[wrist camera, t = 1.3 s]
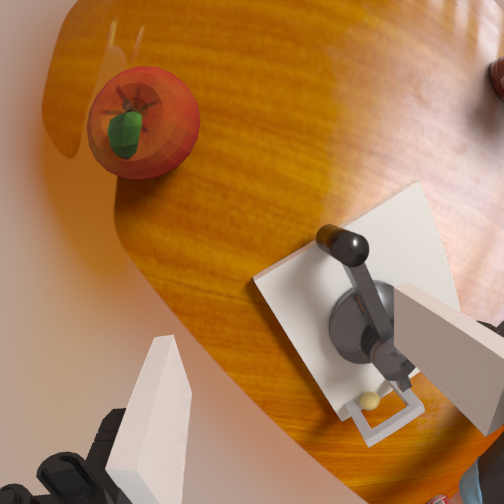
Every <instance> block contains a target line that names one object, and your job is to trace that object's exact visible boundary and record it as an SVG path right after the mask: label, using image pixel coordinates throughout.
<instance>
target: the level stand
mask: <svg viewBox="0 0 504 504" xmlns="http://www.w3.org/2000/svg"><path fill="white" fill-rule="evenodd" d="M338 227H340V228H343V229H346V230H349V231H352V232H354V233H357V234H360V235H362V236H364V237H365V238H366V240H367V241H368V244H369V255H368V258H367V259H366V261H365V264H366V266H367V269H368V271H369V273H370V275H371V278H372V280H380V281H384V282H387V283H389V284H391V285H392V286H394V287H396V286H400V285H403V284H407V283H410V284H412V285H413V286H415V287H417V288H419V289H421V290H422V291H424V292H426V293H428V294H430V295H431V296H433V297H435V298H437V299H438V300H440V301H442V302H444V303H446V304H447V305H449V306H451V307H452V308H454V309H456V310H458V311H459V312H461V310H460V305H459V301H458V297H457V293H456V289H455V285H454V281H453V278H452V274H451V270H450V267H449V263H448V260H447V257H446V253H445V250H444V247H443V244H442V241H441V238H440V235H439V232H438V229H437V226H436V223H435V220H434V217H433V215H432V212H431V209H430V207H429V204H428V201H427V199H426V196H425V194H424V191H423V189H422V186H421V184H420V181H419V180H411V181H410V182H408V183H407V184H405V185H403V186H402V187H400V188H399V189H397V190H395V191H394V192H392V193H391V194H389V195H387V196H386V197H384V198H383V199H381V200H379V201H378V202H376V203H374V204H373V205H371V206H370V207H368V208H366V209H365V210H363V211H361V212H360V213H358V214H357V215H355V216H353V217H352V218H350V219H348V220H347V221H345V222H343V223H342V224H340V225H338ZM253 279H254V282H255V283H256V285H257V287H258V288H259V290H260V292H261V293H262V295H263V296H264V298H265V300H266V301H267V303H268V305H269V306H270V308H271V309H272V311H273V313H274V314H275V316H276V318H277V319H278V321H279V322H280V324H281V326H282V327H283V329H284V331H285V332H286V334H287V335H288V337H289V339H290V340H291V342H292V343H293V345H294V347H295V348H296V350H297V351H298V353H299V355H300V356H301V358H302V359H303V361H304V363H305V364H306V366H307V367H308V369H309V371H310V372H311V374H312V375H313V377H314V379H315V380H316V382H317V383H318V385H319V387H320V388H321V390H322V391H323V393H324V395H325V396H326V398H327V399H328V401H329V402H330V404H331V406H332V407H333V409H334V410H335V412H336V414H337V415H338V417H339V418H340V420H341V421H344V420H346V419H347V418H349V417H352V419H353V420H354V422H355V424H356V426H357V428H358V429H359V431H360V433H361V435H362V436H363V438H364V440H365V442H366V443H367V445H368V447H370V446H372V445H374V444H376V443H377V442H379V441H381V440H382V439H384V438H385V437H387V436H389V435H390V434H392V433H393V432H395V431H397V430H398V429H400V428H401V427H403V426H404V425H406V424H407V423H409V422H410V421H412V420H413V419H414V418H416V417H417V416H419V415H420V414H422V413H423V412H424V411H425V409H424V406H423V403H422V402H421V401H420V400H419V399H418V398H417V396H416V395H415V394H414V393H413V392H412V391H411V390H410V389H408V390H406V391H405V392H402V391H401V390H400V389H399V388H398V386H397V383H396V381H389V380H386V379H385V378H384V377H383V376H382V375H381V373H380V372H379V371H378V370H377V369H376V367H375V366H374V365H373V364H372V363H369V364H355V363H351V362H349V361H347V360H345V359H344V358H343V357H341V355H340V354H339V353H338V352H337V350H336V349H335V347H334V346H333V344H332V342H331V340H330V337H329V319H330V316H331V313H332V311H333V308H334V307H335V305H336V303H337V302H338V300H339V299H340V298H341V297H342V296H343V294H344V293H346V292H347V291H348V290H349V289H351V288H352V287H353V286H352V284H351V282H350V280H349V278H348V276H347V274H346V272H345V270H344V268H343V266H342V264H341V262H339V261H338V260H336V259H335V258H333V257H332V256H330V255H328V254H327V253H325V252H324V251H322V250H321V249H320V248H319V247H318V246H317V243H316V239H315V240H314V241H312V242H310V243H309V244H307V245H305V246H304V247H302V248H300V249H299V250H297V251H295V252H294V253H292V254H290V255H289V256H287V257H285V258H283V259H282V260H280V261H278V262H277V263H275V264H273V265H272V266H270V267H268V268H267V269H265V270H263V271H261V272H260V273H258V274H256V275H255V276H253ZM418 372H420V370H419V369H418V368H417V367H416V368H415V369H414V370H413V371H412V372H411V373H410V374H409V375H408V377H409V379H410V378H411V377H413V376H414V375H416V374H417V373H418ZM393 390H394V391H395V392H396V393H397V394H398V396H399V397H400V398H401V399H402V401H403V402H404V403H405V404H406V406H407V407H406V408H404V409H403V410H401V411H400V412H398V413H397V414H395V415H394V416H392V417H391V418H389V419H387V420H386V421H384V422H383V423H381V424H379V425H378V426H376V427H375V428H373V429H371V428H370V426H369V424H368V423H367V421H366V419H365V418H364V416H363V415H362V413H361V410H363V409H365V410H373V409H375V408H376V407H377V406H378V404H379V401H380V398H382V397H383V396H385V395H387V394H388V393H390V392H391V391H393Z"/></svg>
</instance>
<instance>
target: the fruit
mask: <svg viewBox="0 0 504 504" xmlns="http://www.w3.org/2000/svg"><path fill="white" fill-rule="evenodd" d="M199 126H200V115H199V110H198V104H197V102H196V100H195V98H194V97H193V95H192V93H191V91H190V90H189V88H188V87H187V86H186V85H185V84H184V83H183V82H182V81H180V80H179V79H178V78H177V77H176V76H175V75H174V74H172V73H170V72H168V71H165V70H163V69H161V68H158V67H146V66H139V67H135V68H132V69H129V70H126V71H123V72H121V73H119V74H118V75H117V76H115V77H114V78H113V79H111V80H110V81H109V82H108V83H107V84H106V85H105V86H104V87H103V88H102V90H101V91H100V92H99V94H98V95H97V96H96V99H95V101H94V103H93V105H92V107H91V109H90V112H89V117H88V123H87V132H88V140H89V146H90V148H91V151H92V152H93V155H94V157H95V159H96V160H97V161H98V162H99V163H100V164H101V165H102V166H103V167H104V168H105V169H106V170H107V171H109V172H111V173H113V174H115V175H118V176H120V177H123V178H125V179H139V180H144V179H148V178H153V177H158V176H161V175H163V174H165V173H167V172H169V171H171V170H172V169H174V168H176V167H178V166H179V165H180V164H181V163H182V162H183V161H184V160H185V159H186V158H187V157H188V156H189V155H190V153H191V151H192V148H193V146H194V144H195V142H196V140H197V138H198V133H199Z"/></svg>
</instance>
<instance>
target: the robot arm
mask: <svg viewBox="0 0 504 504" xmlns="http://www.w3.org/2000/svg"><path fill="white" fill-rule="evenodd" d="M394 346H395V347H396V348H397V349H398V350H399V351H400V352H401V353H402V354H403V355H404V356H405V357H406V358H407V359H408V360H409V361H410V362H411V363H412V364H413V365H415V366H416V367H417V368H418V369H419V370H420V371H421V372H422V373H423V374H424V375H425V376H426V377H427V378H428V379H429V380H430V381H431V382H432V383H433V384H434V385H435V386H436V387H437V388H438V389H439V390H440V391H441V392H442V393H443V394H444V395H445V396H446V397H447V398H448V399H449V400H450V401H451V402H452V403H453V404H454V405H455V406H456V407H457V408H458V409H459V410H460V411H461V412H462V413H463V414H464V415H465V416H466V417H467V418H468V419H469V420H470V421H471V422H472V423H473V424H474V425H475V426H476V427H477V428H478V429H479V430H480V431H481V432H482V433H483V434H484V435H485V436H488V435H489V434H491V433H492V432H494V431H495V430H497V429H498V428H500V427H501V426H503V423H504V321H503V322H502V324H501V325H500V326H499V327H498V328H496V327H495V326H493V325H491V324H488V323H485V322H481V321H475V320H473V319H471V318H470V317H468V316H466V315H465V314H463V313H461V312H459V311H458V310H456V309H454V308H452V307H451V306H449V305H447V304H446V303H444V302H442V301H440V300H438V299H437V298H435V297H433V296H431V295H430V294H428V293H426V292H424V291H422V290H421V289H419V288H417V287H415V286H413V285H412V284H410V283H407V284H403V285H400V286H396V287H394ZM191 396H192V391H191V388H190V385H189V382H188V379H187V376H186V373H185V370H184V367H183V364H182V361H181V358H180V355H179V351H178V349H177V345H176V342H175V338H174V335H168V336H161V337H155V338H154V340H153V342H152V345H151V347H150V349H149V352H148V354H147V357H146V359H145V362H144V364H143V367H142V369H141V372H140V375H139V377H138V380H137V382H136V385H135V387H134V390H133V393H132V395H131V398H130V401H129V403H128V406H127V408H123V409H113V410H112V411H111V412H110V413H109V414H108V415H107V416H106V417H105V418H104V419H103V420H102V423H101V425H100V427H99V430H98V433H97V434H96V437H95V439H94V441H95V442H93V444H92V446H91V449H90V451H89V453H88V456H87V458H86V461H85V460H84V459H83V458H82V457H81V456H80V455H78V454H77V453H72V452H60V453H57V454H54V455H52V456H50V457H49V458H47V459H46V460H44V461H43V462H42V464H41V465H40V466H39V468H38V470H37V475H36V477H37V478H38V479H39V481H40V482H41V483H42V484H43V485H44V487H45V488H46V489H47V490H48V491H49V492H50V493H51V494H49V495H39V496H33V495H32V494H31V493H30V492H29V491H28V489H26V488H25V487H24V486H23V485H20V484H8V485H6V486H4V487H2V488H1V489H0V504H182V492H183V479H184V467H185V455H186V444H187V434H188V425H189V414H190V405H191ZM459 491H460V495H461V498H462V501H463V503H464V504H504V431H503V432H502V434H501V435H500V436H499V437H498V438H497V439H496V440H495V441H494V443H493V444H492V445H491V446H490V447H489V448H488V449H487V450H486V451H485V452H484V453H483V454H482V455H481V456H479V457H478V458H477V459H476V461H475V462H474V463H473V465H472V466H471V467H470V468H469V469H468V470H467V471H466V472H465V473H464V474H463V475H462V477H461V479H460V482H459Z"/></svg>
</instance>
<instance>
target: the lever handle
mask: <svg viewBox="0 0 504 504" xmlns="http://www.w3.org/2000/svg"><path fill="white" fill-rule="evenodd" d="M316 243H317V246H318V247H319V248H320V249H321V250H322V251H324V252H325V253H327V254H328V255H330V256H332V257H333V258H335V259H336V260H338V261H339V262H341V264H342V266H343V268H344V270H345V272H346V274H347V276H348V278H349V280H350V282H351V284H352V286H353V287H352V288H351V289H349V290H348V291H347V292H346V293H344V294H343V296H342V297H341V298H340V299H339V300H338V302H337V303H336V305H335V307H334V308H333V311H332V313H331V316H330V319H329V337H330V340H331V342H332V344H333V346H334V347H335V349H336V350H337V352H338V353H339V354H340V355H341V357H343V358H344V359H345V360H347V361H349V362H351V363H355V364H369V363H372V364H373V365H374V366H375V367H376V369H377V370H378V371H379V372H380V373H381V375H382V376H383V377H384V378H385V379H386V380H389V381H396V383H397V386H398V388H399V389H400V390H401V391H402V392H405V391H406V390H408V389H409V388H410V387H412V385H411V382H410V379H409V377H408V375H409V374H410V373H411V372H412V371H413V370H414V369H415V368H416V366H415V365H413V364H412V363H411V362H410V361H409V360H408V359H407V358H406V357H405V356H404V355H403V354H402V353H401V352H400V351H399V350H398V349H397V348H396V347H395V346H394V286H392V285H391V284H389V283H387V282H384V281H380V280H372V278H371V275H370V273H369V271H368V269H367V266H366V264H365V261H366V259H367V258H368V255H369V244H368V241H367V240H366V238H365V237H364V236H362V235H360V234H357V233H354V232H352V231H349V230H346V229H343V228H340V227H338V226H335V225H331V224H328V225H324V226H322V227H321V228H320V229H319V230H318V232H317V234H316Z"/></svg>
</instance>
